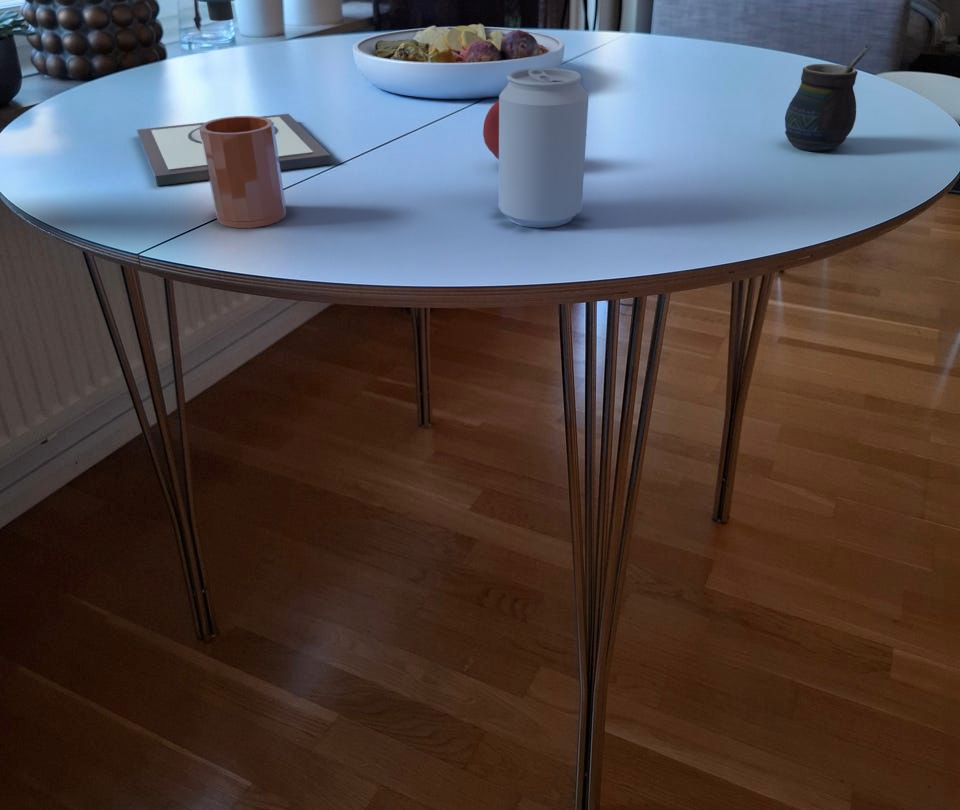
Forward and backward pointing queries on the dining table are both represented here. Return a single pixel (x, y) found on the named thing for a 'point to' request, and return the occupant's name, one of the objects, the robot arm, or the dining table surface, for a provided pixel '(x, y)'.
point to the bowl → (453, 59)
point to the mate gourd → (823, 106)
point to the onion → (492, 129)
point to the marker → (219, 9)
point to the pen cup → (243, 171)
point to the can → (542, 146)
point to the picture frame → (182, 153)
